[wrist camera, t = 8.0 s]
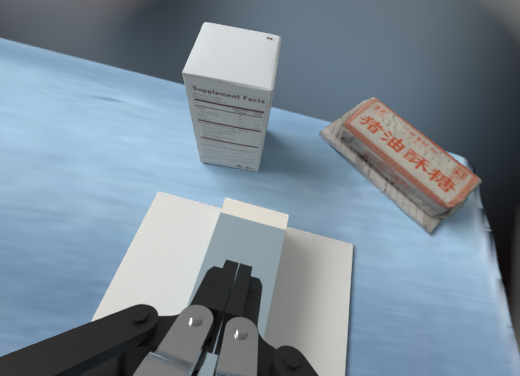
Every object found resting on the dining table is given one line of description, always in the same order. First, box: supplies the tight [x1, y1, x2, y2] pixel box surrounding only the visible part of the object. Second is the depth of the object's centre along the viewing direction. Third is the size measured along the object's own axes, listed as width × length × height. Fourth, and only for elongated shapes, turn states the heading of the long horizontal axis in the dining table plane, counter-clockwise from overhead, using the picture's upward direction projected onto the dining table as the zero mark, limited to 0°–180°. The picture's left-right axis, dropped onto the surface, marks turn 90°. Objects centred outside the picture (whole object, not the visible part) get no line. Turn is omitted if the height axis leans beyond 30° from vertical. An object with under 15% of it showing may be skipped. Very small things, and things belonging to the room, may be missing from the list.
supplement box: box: [182, 22, 281, 172], centre depth 26 cm, size 7×7×13 cm
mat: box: [91, 191, 353, 376], centre depth 21 cm, size 22×26×1 cm
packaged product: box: [319, 97, 481, 233], centre depth 31 cm, size 18×5×10 cm
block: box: [187, 198, 289, 376], centre depth 21 cm, size 6×4×14 cm
